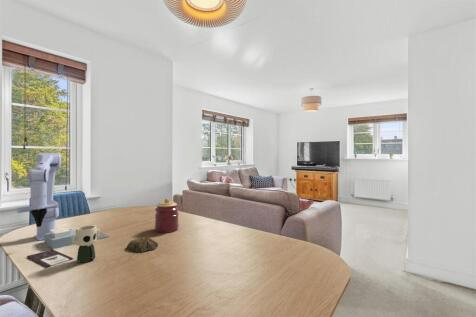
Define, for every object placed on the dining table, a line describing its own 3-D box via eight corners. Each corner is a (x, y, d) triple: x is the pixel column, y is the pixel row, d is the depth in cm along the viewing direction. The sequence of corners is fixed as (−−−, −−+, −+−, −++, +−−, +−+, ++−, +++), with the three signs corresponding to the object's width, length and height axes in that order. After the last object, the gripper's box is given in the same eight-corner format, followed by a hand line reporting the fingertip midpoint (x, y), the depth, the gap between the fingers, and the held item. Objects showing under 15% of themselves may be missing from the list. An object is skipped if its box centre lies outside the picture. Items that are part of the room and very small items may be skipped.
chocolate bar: (52, 249, 109) (73, 258, 100) (52, 251, 109) (73, 260, 100) (26, 256, 101) (46, 266, 92) (26, 258, 101) (46, 268, 92)
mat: (71, 235, 129) (71, 235, 129) (96, 230, 138) (96, 230, 138) (82, 242, 118) (82, 242, 118) (108, 236, 128) (108, 236, 128)
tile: (49, 234, 119) (49, 229, 119) (64, 231, 123) (64, 227, 123) (55, 238, 113) (55, 233, 113) (70, 235, 118) (70, 230, 118)
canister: (183, 228, 143) (183, 197, 143) (165, 234, 132) (165, 201, 132) (167, 225, 150) (167, 195, 150) (149, 230, 139) (149, 198, 139)
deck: (44, 242, 119) (44, 233, 119) (71, 236, 128) (71, 228, 128) (52, 249, 110) (52, 240, 110) (80, 242, 119) (80, 234, 119)
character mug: (77, 267, 92) (77, 232, 92) (66, 263, 96) (66, 229, 96) (104, 256, 102) (104, 225, 102) (93, 253, 105) (93, 223, 105)
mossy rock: (123, 248, 113) (124, 237, 113) (149, 241, 122) (149, 231, 122) (136, 255, 104) (136, 243, 104) (163, 247, 113) (163, 237, 113)
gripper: (19, 199, 104) (19, 231, 104) (60, 195, 115) (60, 224, 115) (16, 197, 108) (16, 228, 109) (56, 193, 120) (56, 221, 120)
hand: (38, 226), depth 112 cm, fingers closed
